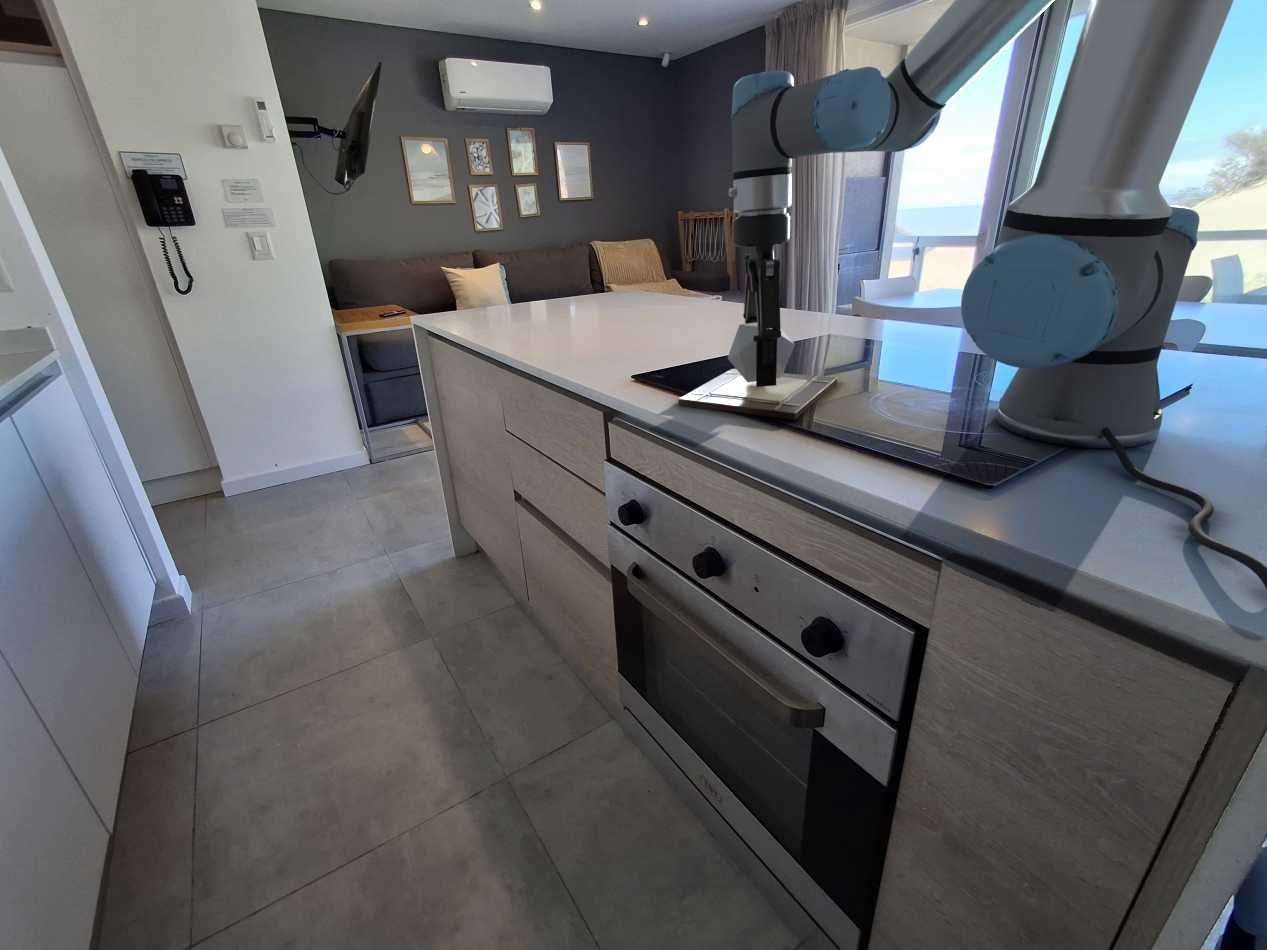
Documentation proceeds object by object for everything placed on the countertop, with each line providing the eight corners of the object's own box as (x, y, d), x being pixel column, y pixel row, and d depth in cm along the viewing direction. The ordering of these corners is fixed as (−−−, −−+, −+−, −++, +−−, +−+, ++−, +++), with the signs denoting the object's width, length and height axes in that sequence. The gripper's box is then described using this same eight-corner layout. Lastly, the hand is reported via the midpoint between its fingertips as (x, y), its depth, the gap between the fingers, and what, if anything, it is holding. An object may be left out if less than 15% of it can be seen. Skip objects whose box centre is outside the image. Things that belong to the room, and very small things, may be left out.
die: (785, 391, 81) (812, 327, 81) (730, 365, 79) (757, 299, 79) (763, 397, 89) (787, 338, 89) (712, 373, 88) (737, 314, 88)
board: (837, 383, 89) (837, 376, 88) (794, 420, 76) (795, 411, 75) (731, 374, 99) (731, 367, 98) (678, 405, 85) (678, 397, 85)
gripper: (724, 215, 87) (726, 360, 96) (745, 216, 67) (745, 399, 76) (774, 211, 86) (771, 357, 96) (810, 210, 66) (802, 395, 75)
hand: (760, 376), depth 86 cm, fingers closed on die, 9 cm apart
